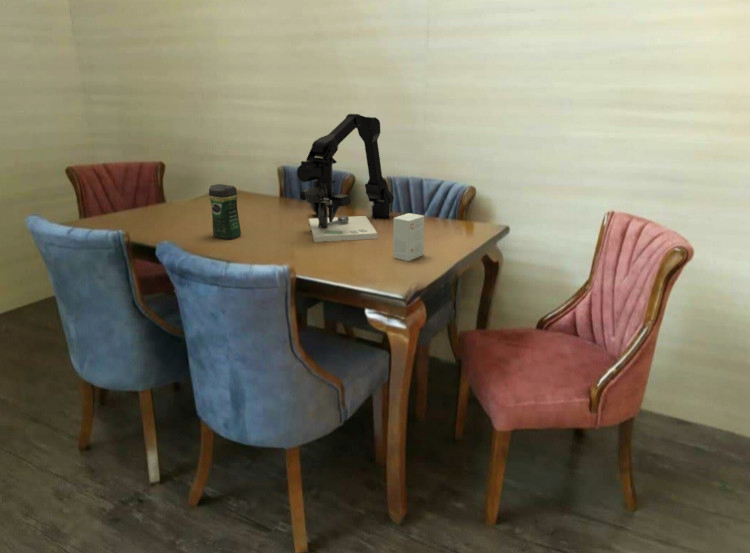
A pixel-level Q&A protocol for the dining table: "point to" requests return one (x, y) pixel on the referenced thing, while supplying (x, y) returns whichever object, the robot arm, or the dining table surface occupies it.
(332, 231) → the dial plate
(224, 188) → the coffee jar
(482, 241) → the dining table surface
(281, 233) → the dining table surface
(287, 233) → the dining table surface
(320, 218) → the dark knobbed cylinder
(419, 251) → the small box
